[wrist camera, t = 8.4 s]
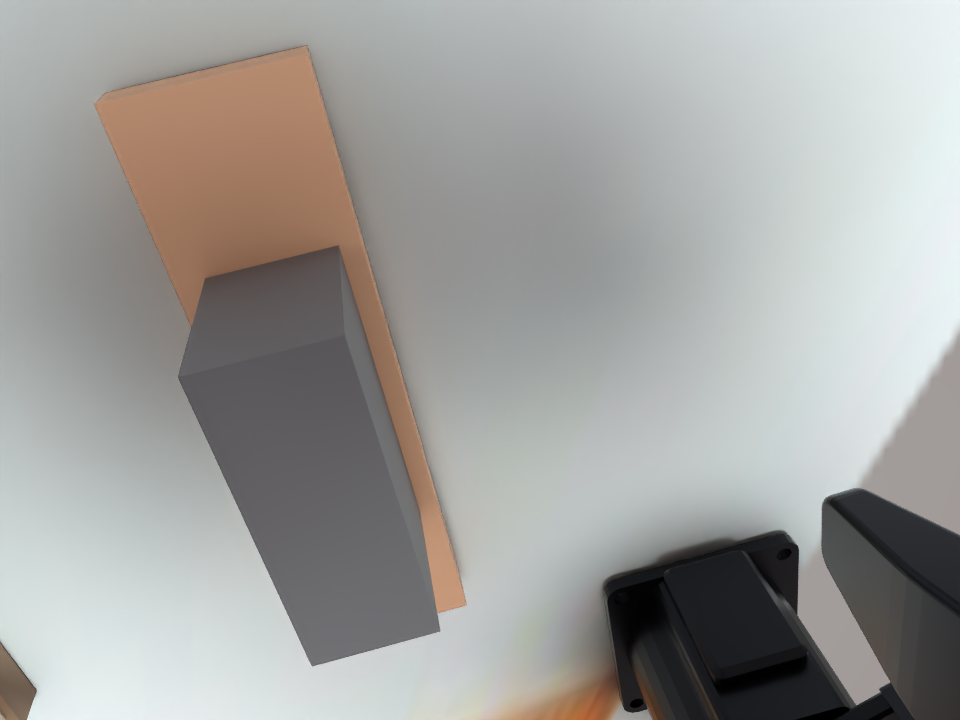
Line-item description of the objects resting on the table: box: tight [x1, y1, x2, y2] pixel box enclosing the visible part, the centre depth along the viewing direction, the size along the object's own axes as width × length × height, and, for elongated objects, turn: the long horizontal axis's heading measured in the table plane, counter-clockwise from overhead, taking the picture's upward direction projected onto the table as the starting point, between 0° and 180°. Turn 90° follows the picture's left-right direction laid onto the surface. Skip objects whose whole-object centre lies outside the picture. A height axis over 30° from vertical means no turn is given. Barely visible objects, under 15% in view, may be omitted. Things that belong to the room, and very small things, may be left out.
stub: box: [94, 46, 466, 666], centre depth 19 cm, size 16×4×5 cm, turn 11°
